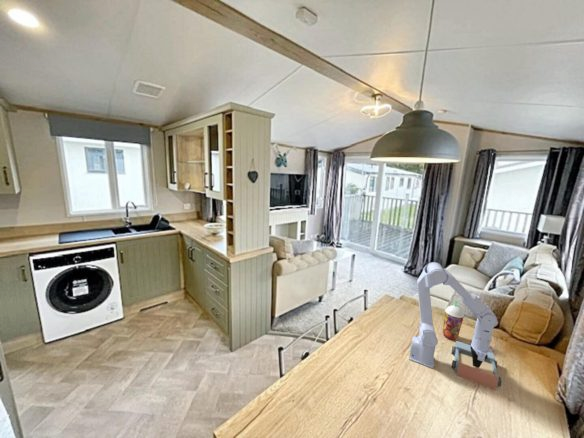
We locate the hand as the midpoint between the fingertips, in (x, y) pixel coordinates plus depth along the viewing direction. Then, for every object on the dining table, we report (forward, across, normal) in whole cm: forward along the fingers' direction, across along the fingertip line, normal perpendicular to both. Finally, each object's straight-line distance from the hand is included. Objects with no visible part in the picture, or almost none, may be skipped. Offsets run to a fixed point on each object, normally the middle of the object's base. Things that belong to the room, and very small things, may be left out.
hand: (475, 365), depth 108 cm
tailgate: (+3, -6, 0) cm, 7 cm away
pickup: (+3, +4, 0) cm, 5 cm away
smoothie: (+4, +23, +9) cm, 25 cm away
